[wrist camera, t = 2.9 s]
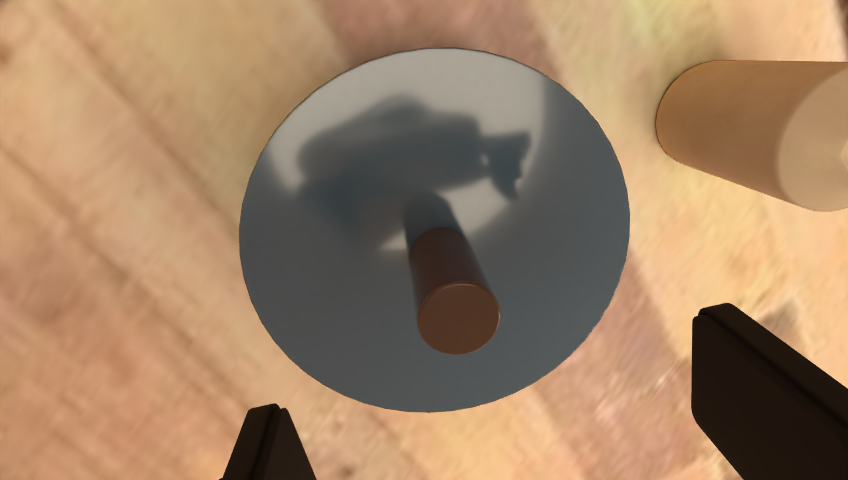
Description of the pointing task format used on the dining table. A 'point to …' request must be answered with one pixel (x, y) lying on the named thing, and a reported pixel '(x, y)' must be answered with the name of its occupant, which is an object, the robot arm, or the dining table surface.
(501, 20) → the dining table surface
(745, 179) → the candle
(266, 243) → the lid
